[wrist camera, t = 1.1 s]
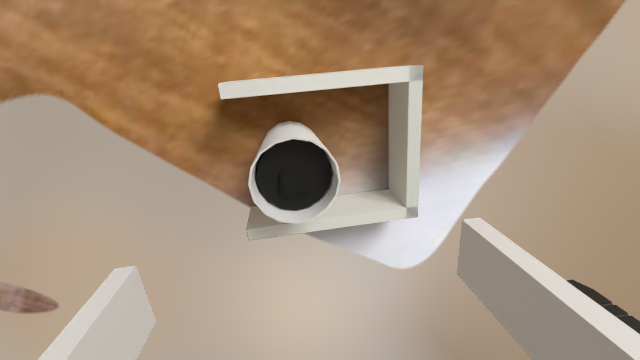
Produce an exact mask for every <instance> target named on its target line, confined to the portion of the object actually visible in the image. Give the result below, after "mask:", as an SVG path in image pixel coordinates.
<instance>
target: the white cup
mask: <svg viewBox="0 0 640 360" xmlns="http://www.w3.org/2000/svg"><path fill="white" fill-rule="evenodd" d="M340 182H341V179H340V173H339V168H338V164H337V162H336V161H335V159H334V158H333V157H332V155H331V154H330V152H329V151H328V149H327V148H326V147H325V146H324V145H323V144H322V142H321V141H320V140H319V139H318V138H317V137H316V136H315V134H314V133H313V132H312V131H311V130H310V129H309V128H308V127H306V126H305V125H303V124H301V123H299V122H293V121H287V122H282V123H278V124H277V125H275V126H274V127H273V128H271V129H270V130H269V131H268V133H267V134H266V136H265V138H264V139H263V142H262V144H261V146H260V148H259V150H258V153H257V155H256V157H255V159H254V161H253V163H252V165H251V168H250V175H249V183H248V186H249V189H250V192H251V195H252V199H253V202H254V203H255V204H256V205H257V206H258V207H259V208H260V210H261V211H262V212H263V213H264V214H265V215H267V216H269V217H271V218H273V219H275V220H277V221H279V222H284V223H294V224H298V223H302V222H306V221H310V220H314V219H315V218H317V217H318V216H320V215H321V214H323V213H324V212H326V211H327V210H328V209H329V208H330V206H331V205H332V203H333V202H334V200H335V199H336V198H337V195H338V191H339V186H340Z"/></svg>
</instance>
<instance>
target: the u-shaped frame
mask: <svg viewBox="0 0 640 360" xmlns="http://www.w3.org/2000/svg"><path fill="white" fill-rule="evenodd" d="M387 83H389V189H384V190H376V191H369V192H361V193H353V194H345V195H338V196H337V198H336V199H335V200H334V202H333V203H332V205H331V206H330V208H329V209H328V210H327V211H326V212H324V213H323V214H321V215H320V216H318V217H317V218H315V219H314V220H310V221H306V222H302V223H298V224H294V223H284V222H279V221H277V220H275V219H273V218H271V217H269V216H267V215H265V214H264V213H263V212H262V211H261V210H260V208H259V207H258V206H253V207H251V210H250V214H249V219H248V224H247V229H246V230H247V235H248V240H256V239H263V238H270V237H277V236H285V235H292V234H299V233H306V232H313V231H321V230H328V229H335V228H342V227H349V226H356V225H364V224H371V223H378V222H385V221H392V220H399V219H407V218H414V217H418V191H419V165H420V139H421V112H422V86H423V65H410V66H394V67H383V68H372V69H361V70H350V71H339V72H328V73H317V74H306V75H294V76H283V77H272V78H261V79H250V80H239V81H228V82H223V83H218V87H219V92H220V97H221V99H230V98H240V97H251V96H261V95H272V94H282V93H293V92H303V91H314V90H324V89H335V88H345V87H355V86H366V85H376V84H387Z"/></svg>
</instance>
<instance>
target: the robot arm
mask: <svg viewBox="0 0 640 360" xmlns="http://www.w3.org/2000/svg"><path fill="white" fill-rule="evenodd" d="M457 274H458V275H459V277H460V278H461V279H462V280H463V281H464V282H465V284H466V285H467V286H468V287H469V288H470V289H471V290H472V292H473V293H474V294H475V295H476V296H477V297H478V298H479V300H480V301H481V302H482V303H483V304H484V305H485V306H486V308H487V309H488V310H489V311H490V312H491V313H492V314H493V315H494V317H495V318H496V319H497V320H498V321H499V322H500V323H501V325H502V326H503V327H504V328H505V329H506V330H507V331H508V333H509V334H510V335H511V336H512V337H513V338H514V339H515V340H516V342H517V343H518V344H519V345H520V346H521V347H522V349H523V350H524V351H525V352H526V353H527V354H528V355H529V357H530V358H531V359H532V360H640V321H638V320H637V319H635V318H634V317H633V316H629V315H628V313H627V312H625V311H624V310H622V309H621V308H619V307H618V306H617V305H613V304H612V302H611V301H609V300H608V299H606V298H605V297H604V296H602V295H601V294H599V293H598V292H596V291H595V290H593V289H591V288H589V287H587V286H585V285H582V284H580V283H578V282H576V281H574V280H567V281H566V280H564V279H563V278H562V277H560V276H559V275H558V274H556V273H555V272H554V271H552V270H551V269H549V268H548V267H546V266H545V265H544V264H543V263H541V262H540V261H538V260H537V259H535V258H534V257H533V256H532V255H530V254H529V253H527V252H526V251H525V250H523V249H522V248H521V247H519V246H518V245H516V244H515V243H514V242H512V241H511V240H510V239H508V238H507V237H505V236H504V235H503V234H501V233H500V232H499V231H497V230H496V229H494V228H493V227H492V226H490V225H489V224H488V223H486V222H484V221H483V220H482V219H481V218H473V219H465V220H462V227H461V238H460V248H459V260H458V269H457ZM155 322H156V320H155V317H154V314H153V311H152V308H151V306H150V303H149V300H148V297H147V295H146V292H145V289H144V286H143V284H142V281H141V278H140V275H139V272H138V270H137V267H136V266H130V267H123V268H116V269H114V270H113V271H112V273H111V274H110V275H109V276H108V277H107V279H106V280H105V281H104V282H103V283H102V284H101V286H100V287H99V288H98V289H97V290H96V292H95V293H94V294H93V295H92V296H91V298H90V299H89V300H88V301H87V302H86V303H85V305H84V306H83V307H82V308H81V310H80V311H79V312H78V313H77V314H76V315H75V317H74V318H73V319H72V320H71V321H70V323H69V324H68V325H67V326H66V327H65V328H64V329H63V331H62V332H61V333H60V334H59V335H58V337H57V338H56V339H55V340H54V342H52V344H51V345H50V346H49V347H48V348H47V350H46V351H45V352H44V353H43V354H42V355H41V357H40V358H39V359H38V360H137V358H138V356H139V354H140V352H141V350H142V348H143V346H144V344H145V342H146V340H147V338H148V336H149V334H150V332H151V330H152V328H153V326H154V324H155Z"/></svg>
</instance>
